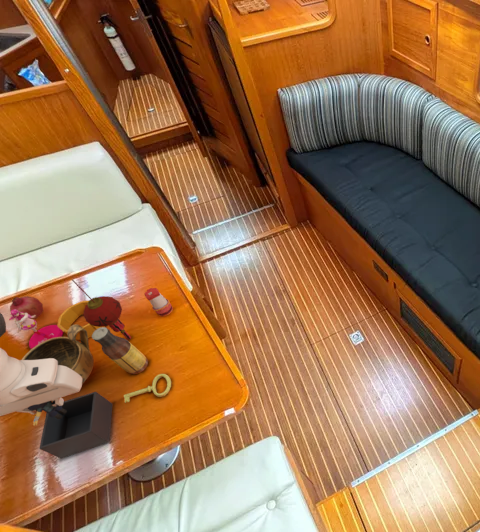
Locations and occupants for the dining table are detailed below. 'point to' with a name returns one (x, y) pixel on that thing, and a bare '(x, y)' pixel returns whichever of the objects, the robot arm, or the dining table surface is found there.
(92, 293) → the dining table surface
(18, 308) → the fruit
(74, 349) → the ceramic bowl
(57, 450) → the bin
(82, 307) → the toy bowl
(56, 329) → the figurine
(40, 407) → the character figure
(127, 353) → the sauce bottle
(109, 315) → the lantern
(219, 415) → the dining table surface
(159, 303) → the toy
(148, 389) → the key
